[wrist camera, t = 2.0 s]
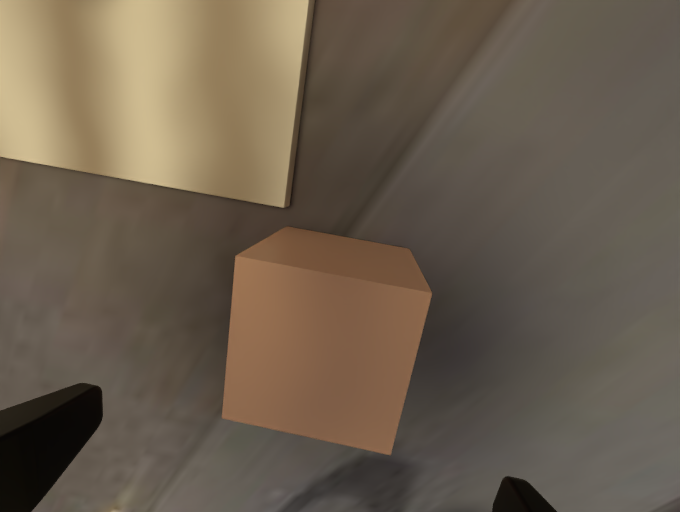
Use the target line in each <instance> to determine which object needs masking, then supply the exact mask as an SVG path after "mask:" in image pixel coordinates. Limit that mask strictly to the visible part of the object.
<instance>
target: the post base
mask: <svg viewBox="0 0 680 512" xmlns="http://www.w3.org/2000/svg"><path fill="white" fill-rule="evenodd" d="M314 5H315V0H0V157H5V158H11V159H16V160H22V161H27V162H33V163H39V164H44V165H50V166H55V167H61V168H66V169H72V170H77V171H83V172H88V173H94V174H99V175H105V176H111V177H116V178H122V179H127V180H133V181H138V182H144V183H149V184H155V185H160V186H166V187H172V188H177V189H183V190H188V191H194V192H199V193H205V194H210V195H216V196H221V197H227V198H232V199H238V200H244V201H249V202H255V203H260V204H266V205H271V206H277V207H282V208H285V207H288V206H289V205H290V197H291V189H292V181H293V173H294V165H295V157H296V149H297V141H298V133H299V125H300V117H301V109H302V101H303V93H304V85H305V77H306V69H307V61H308V53H309V45H310V37H311V29H312V21H313V13H314Z"/></svg>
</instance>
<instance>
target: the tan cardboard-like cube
mask: <svg viewBox="0 0 680 512" xmlns="http://www.w3.org/2000/svg"><path fill="white" fill-rule="evenodd" d="M431 297H432V292H431V290H430V288H429V286H428V284H427V282H426V280H425V278H424V276H423V274H422V272H421V270H420V268H419V266H418V264H417V262H416V261H415V259H414V257H413V255H412V253H411V251H410V249H408V248H403V247H397V246H392V245H386V244H381V243H376V242H370V241H365V240H359V239H354V238H348V237H343V236H337V235H332V234H327V233H321V232H316V231H310V230H305V229H299V228H294V227H288V226H286V227H285V228H283V229H281V230H279V231H278V232H276V233H274V234H273V235H271V236H269V237H267V238H266V239H264V240H262V241H260V242H259V243H257V244H255V245H253V246H252V247H250V248H248V249H246V250H245V251H243V252H241V253H239V254H238V255H236V257H235V268H234V280H233V292H232V304H231V316H230V327H229V339H228V351H227V363H226V375H225V386H224V398H223V410H222V418H223V419H228V420H232V421H237V422H242V423H246V424H251V425H255V426H260V427H264V428H269V429H273V430H278V431H282V432H287V433H291V434H296V435H301V436H305V437H310V438H314V439H319V440H323V441H328V442H332V443H337V444H341V445H346V446H350V447H355V448H360V449H364V450H369V451H373V452H378V453H382V454H387V455H391V452H392V448H393V444H394V440H395V436H396V432H397V428H398V424H399V421H400V417H401V413H402V409H403V405H404V401H405V397H406V393H407V390H408V386H409V382H410V378H411V374H412V370H413V366H414V362H415V359H416V355H417V351H418V347H419V343H420V339H421V335H422V331H423V328H424V324H425V320H426V316H427V312H428V308H429V304H430V300H431Z"/></svg>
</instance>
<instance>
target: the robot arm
mask: <svg viewBox="0 0 680 512" xmlns="http://www.w3.org/2000/svg"><path fill="white" fill-rule="evenodd" d="M102 417H103V404H102V390H101V388H100V387H99V386H96V385H92V384H87V383H79V384H76V385H73V386H70V387H67V388H64V389H61V390H58V391H56V392H53V393H50V394H47V395H44V396H41V397H38V398H35V399H33V400H30V401H27V402H24V403H21V404H18V405H15V406H13V407H10V408H7V409H4V410H1V411H0V512H31V511H32V510H33V509H34V508H35V507H36V506H37V505H38V503H39V502H40V501H41V500H42V499H43V497H44V496H45V495H46V494H47V492H48V491H49V490H50V489H51V488H52V486H53V485H54V484H55V482H56V481H57V480H58V479H59V477H60V476H61V475H62V473H63V472H64V471H65V470H66V468H67V467H68V466H69V464H70V463H71V462H72V461H73V459H74V458H75V457H76V455H77V454H78V453H79V452H80V450H81V449H82V448H83V446H84V445H85V444H86V443H87V441H88V440H89V439H90V437H91V436H92V435H93V434H94V432H95V431H96V430H97V428H98V427H99V425H100V423H101V421H102ZM492 512H557V511H556V510H555V509H554V508H553V507H552V506H551V505H550V504H549V503H548V502H547V501H546V500H545V499H544V498H543V497H542V496H541V495H540V494H539V493H538V492H537V491H536V490H535V488H534V487H533V486H532V485H531V484H529V483H528V482H527V481H525V480H523V479H519V478H514V477H510V476H506V477H505V478H503V480H502V482H501V485H500V487H499V490H498V493H497V495H496V498H495V500H494V503H493V508H492Z"/></svg>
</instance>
